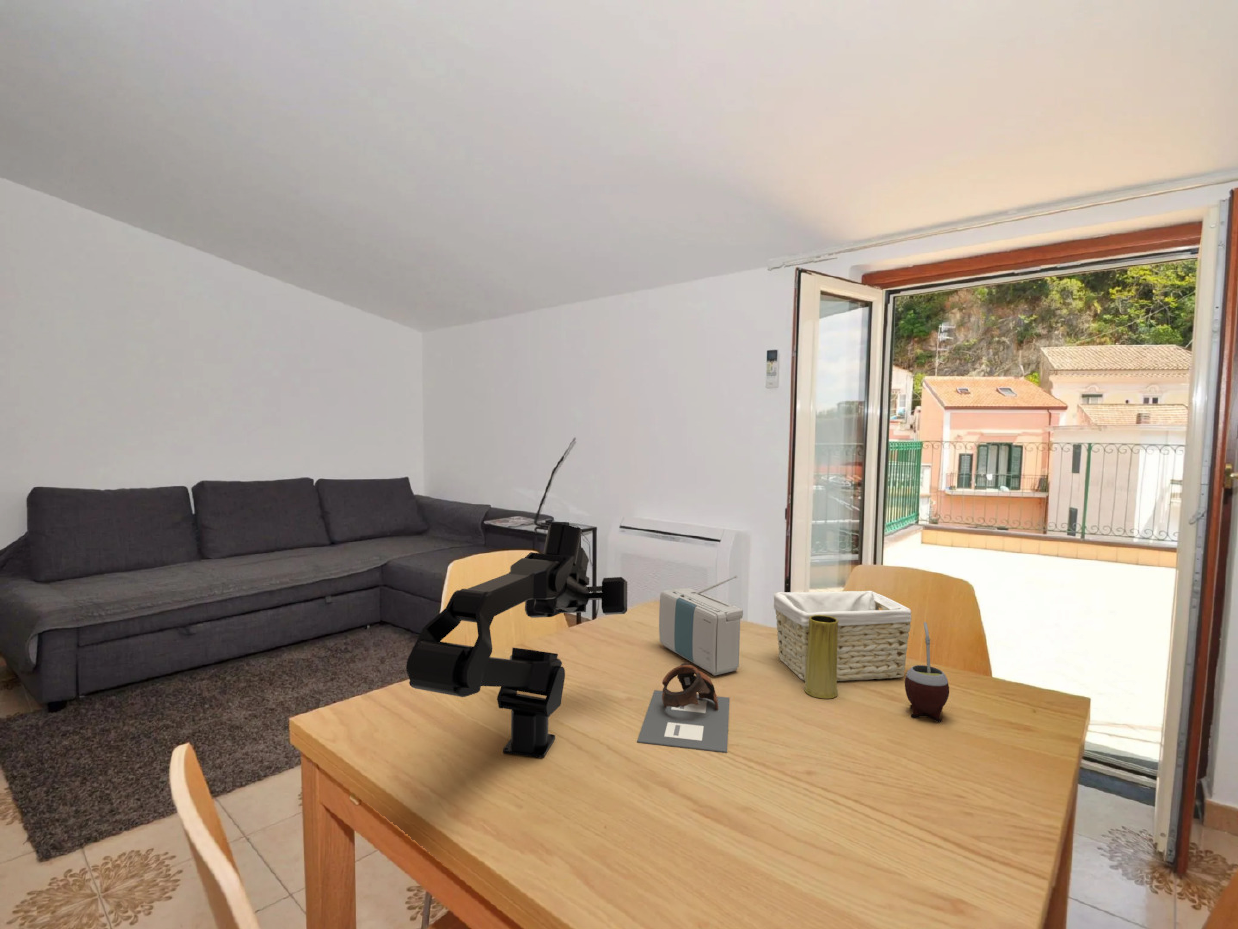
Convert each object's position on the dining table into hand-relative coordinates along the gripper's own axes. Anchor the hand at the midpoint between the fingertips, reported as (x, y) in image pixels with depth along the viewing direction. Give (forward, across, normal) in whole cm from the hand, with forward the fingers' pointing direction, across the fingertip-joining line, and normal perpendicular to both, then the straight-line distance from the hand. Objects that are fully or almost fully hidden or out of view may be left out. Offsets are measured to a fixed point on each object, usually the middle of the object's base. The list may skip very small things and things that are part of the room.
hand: (591, 605), depth 120 cm
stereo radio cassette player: (+26, -16, +8) cm, 32 cm away
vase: (+18, -40, +15) cm, 47 cm away
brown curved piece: (+4, -18, +18) cm, 25 cm away
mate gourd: (+16, -58, +19) cm, 63 cm away
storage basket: (+31, -44, +10) cm, 55 cm away
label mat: (0, -18, +20) cm, 27 cm away
